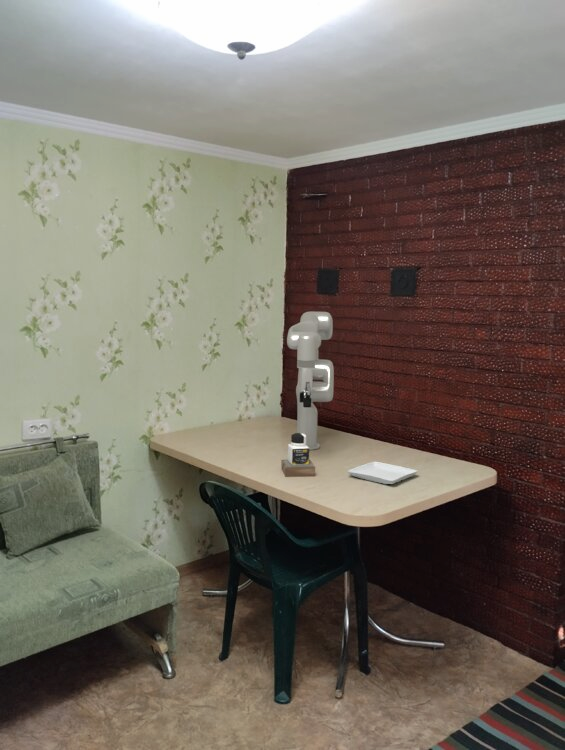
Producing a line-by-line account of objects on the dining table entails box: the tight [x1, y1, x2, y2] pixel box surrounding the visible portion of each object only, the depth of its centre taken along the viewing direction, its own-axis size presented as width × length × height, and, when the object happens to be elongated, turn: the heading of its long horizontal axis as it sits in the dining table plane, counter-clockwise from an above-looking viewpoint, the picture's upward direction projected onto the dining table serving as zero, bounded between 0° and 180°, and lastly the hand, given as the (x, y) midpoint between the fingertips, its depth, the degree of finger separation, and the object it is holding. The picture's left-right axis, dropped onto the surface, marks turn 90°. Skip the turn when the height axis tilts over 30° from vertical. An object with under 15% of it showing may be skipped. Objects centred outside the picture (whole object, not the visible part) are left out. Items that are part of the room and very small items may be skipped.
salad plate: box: [347, 461, 419, 485], centre depth 257 cm, size 21×21×3 cm
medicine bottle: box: [287, 432, 310, 465], centre depth 260 cm, size 7×7×12 cm
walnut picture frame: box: [280, 458, 316, 478], centre depth 261 cm, size 12×12×4 cm
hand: (305, 404), depth 266 cm, fingers open, 9 cm apart
